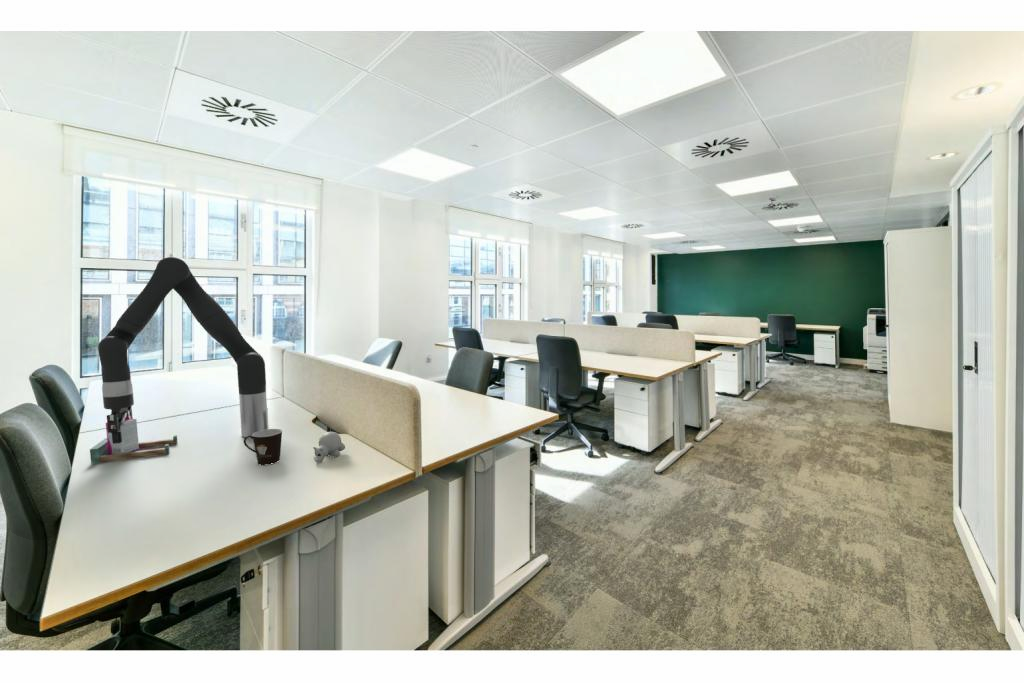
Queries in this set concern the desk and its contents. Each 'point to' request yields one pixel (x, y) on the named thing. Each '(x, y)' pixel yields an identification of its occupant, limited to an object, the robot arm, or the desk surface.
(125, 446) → the supplement box
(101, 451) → the guide lane
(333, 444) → the chubby cartoon animal
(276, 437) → the coffee mug
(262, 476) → the desk surface
